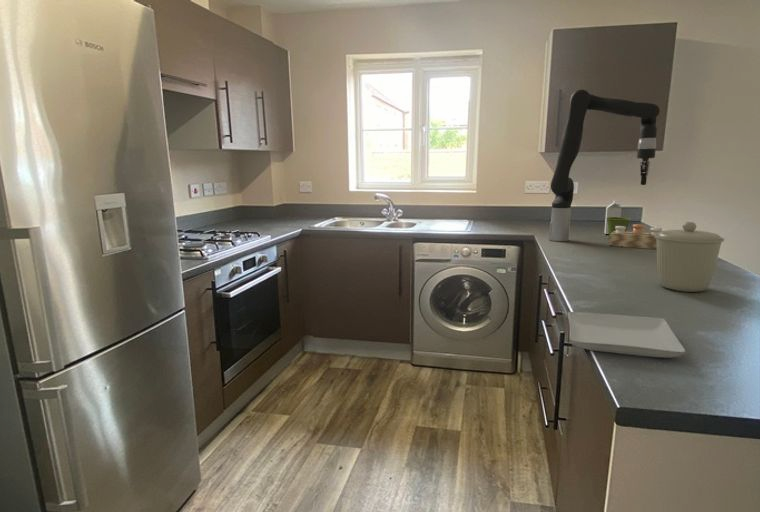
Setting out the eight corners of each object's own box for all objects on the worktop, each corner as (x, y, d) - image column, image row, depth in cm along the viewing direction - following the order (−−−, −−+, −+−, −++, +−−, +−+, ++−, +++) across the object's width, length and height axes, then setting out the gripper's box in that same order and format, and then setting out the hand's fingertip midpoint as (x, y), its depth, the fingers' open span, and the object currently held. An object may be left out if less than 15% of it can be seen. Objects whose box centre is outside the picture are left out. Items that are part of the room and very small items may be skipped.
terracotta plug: (630, 242, 220) (632, 225, 219) (631, 240, 224) (633, 224, 222) (641, 242, 218) (643, 225, 216) (642, 241, 221) (644, 224, 220)
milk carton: (605, 235, 257) (607, 201, 254) (604, 233, 264) (606, 200, 260) (619, 235, 255) (622, 201, 251) (618, 233, 261) (620, 200, 258)
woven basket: (609, 245, 223) (610, 233, 222) (612, 242, 231) (613, 231, 230) (662, 249, 211) (663, 236, 210) (663, 246, 219) (664, 233, 218)
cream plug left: (613, 243, 225) (614, 226, 223) (614, 242, 228) (616, 225, 227) (623, 244, 222) (625, 227, 221) (625, 242, 226) (626, 226, 224)
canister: (720, 299, 133) (729, 226, 129) (648, 291, 142) (654, 223, 138) (715, 285, 148) (723, 220, 144) (650, 279, 157) (656, 217, 153)
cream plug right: (648, 245, 216) (650, 228, 215) (649, 244, 220) (650, 227, 218) (659, 246, 214) (661, 229, 212) (660, 245, 217) (662, 228, 216)
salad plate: (568, 354, 97) (569, 338, 96) (566, 322, 116) (567, 309, 115) (686, 367, 89) (688, 351, 89) (662, 331, 109) (664, 317, 108)
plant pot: (603, 240, 240) (605, 218, 237) (604, 237, 250) (606, 216, 248) (629, 241, 234) (631, 219, 232) (629, 238, 244) (631, 217, 242)
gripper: (639, 148, 226) (636, 184, 229) (636, 148, 215) (632, 185, 218) (656, 148, 221) (653, 184, 225) (654, 147, 211) (651, 185, 214)
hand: (643, 184), depth 221 cm, fingers closed
